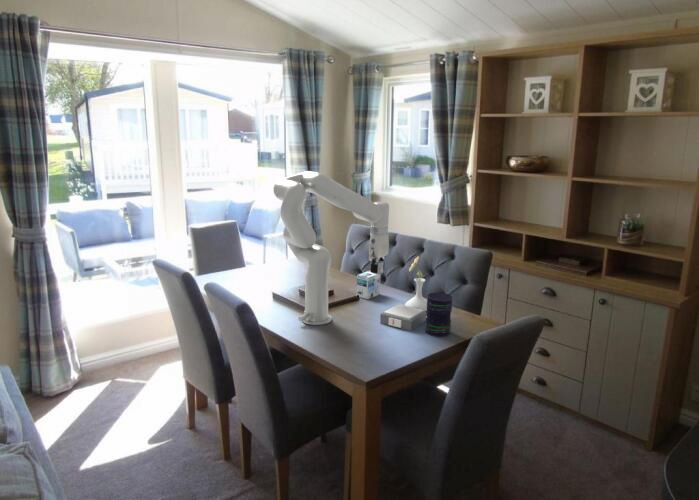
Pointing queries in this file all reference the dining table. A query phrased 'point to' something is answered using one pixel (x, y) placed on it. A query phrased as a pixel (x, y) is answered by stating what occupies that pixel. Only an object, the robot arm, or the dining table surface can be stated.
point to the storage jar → (438, 314)
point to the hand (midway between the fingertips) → (377, 270)
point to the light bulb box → (368, 285)
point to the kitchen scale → (403, 317)
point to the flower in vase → (418, 291)
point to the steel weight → (380, 267)
